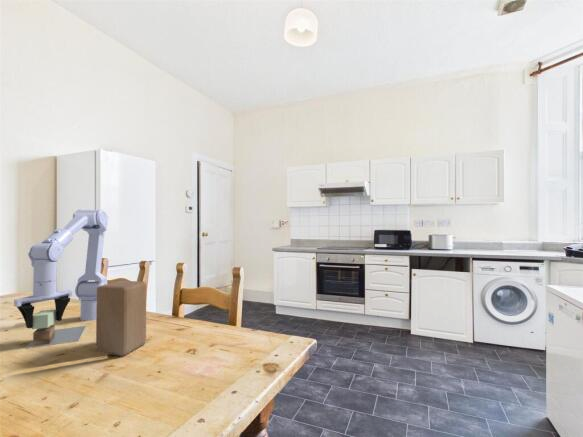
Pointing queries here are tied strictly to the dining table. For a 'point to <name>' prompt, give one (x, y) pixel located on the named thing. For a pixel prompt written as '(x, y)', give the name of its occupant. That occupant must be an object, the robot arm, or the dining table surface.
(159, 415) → the dining table surface
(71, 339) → the baseplate
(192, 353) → the dining table surface
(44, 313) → the green brick
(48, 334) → the walnut brick
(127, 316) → the block
